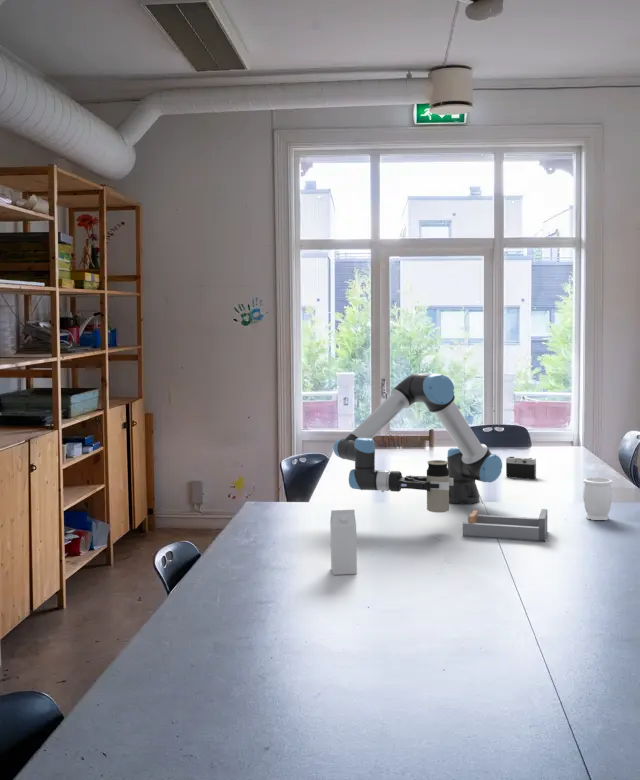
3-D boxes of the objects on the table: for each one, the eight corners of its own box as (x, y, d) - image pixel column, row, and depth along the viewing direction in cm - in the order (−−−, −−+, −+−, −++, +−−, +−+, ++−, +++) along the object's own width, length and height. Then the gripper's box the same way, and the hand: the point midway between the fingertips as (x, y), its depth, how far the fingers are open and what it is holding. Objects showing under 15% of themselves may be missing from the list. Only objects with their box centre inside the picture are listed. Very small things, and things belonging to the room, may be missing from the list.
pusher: (473, 526, 288) (473, 510, 288) (477, 526, 288) (477, 510, 287) (469, 532, 279) (469, 516, 278) (473, 533, 278) (473, 516, 278)
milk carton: (331, 568, 242) (330, 507, 241) (354, 567, 243) (352, 507, 241) (333, 575, 235) (332, 513, 234) (357, 574, 236) (355, 512, 234)
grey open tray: (469, 526, 291) (469, 505, 291) (547, 531, 282) (547, 509, 281) (462, 536, 277) (462, 514, 276) (544, 541, 268) (544, 518, 267)
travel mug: (450, 508, 289) (450, 460, 288) (446, 513, 282) (446, 463, 280) (429, 507, 292) (429, 459, 291) (424, 512, 284) (424, 463, 283)
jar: (614, 522, 293) (614, 482, 292) (585, 521, 295) (585, 482, 294) (609, 515, 303) (609, 477, 302) (581, 515, 305) (581, 477, 304)
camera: (538, 476, 388) (538, 456, 388) (534, 479, 381) (534, 459, 380) (510, 474, 395) (510, 454, 395) (505, 477, 388) (505, 457, 388)
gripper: (397, 485, 302) (456, 488, 294) (382, 496, 283) (445, 499, 275) (396, 466, 302) (455, 469, 294) (382, 475, 282) (445, 478, 274)
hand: (450, 484), depth 284 cm, fingers closed on travel mug, 8 cm apart
